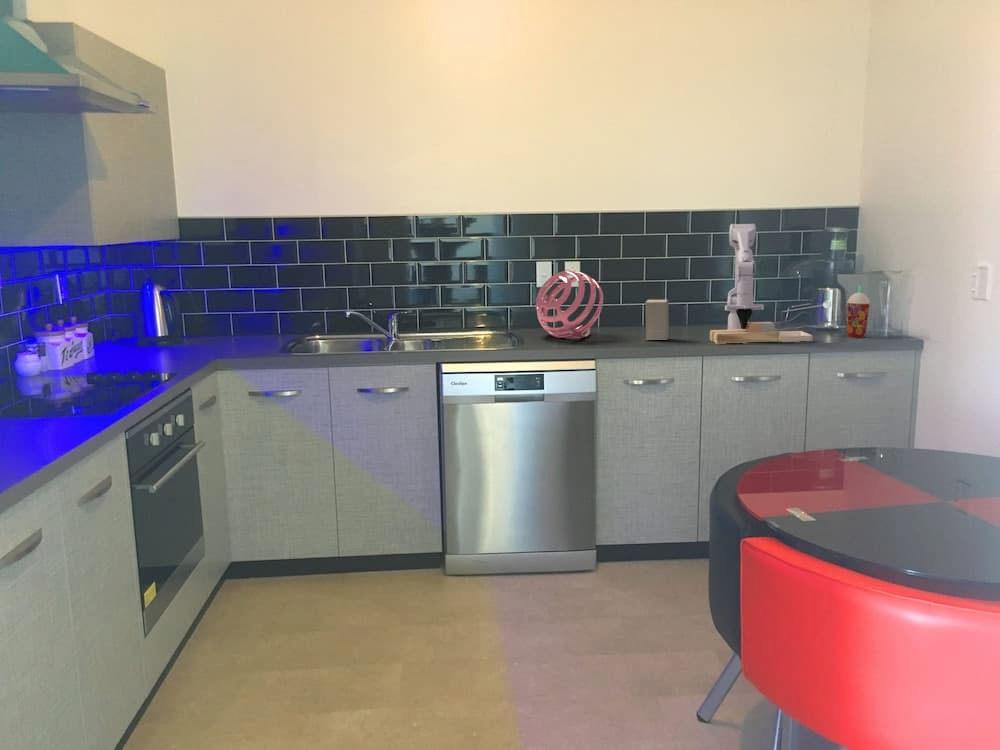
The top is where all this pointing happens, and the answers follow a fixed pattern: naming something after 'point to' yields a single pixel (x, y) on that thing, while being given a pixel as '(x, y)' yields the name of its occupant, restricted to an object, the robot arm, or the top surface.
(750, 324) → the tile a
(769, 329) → the tile
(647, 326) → the skincare box
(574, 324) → the spiral basket
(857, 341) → the top surface
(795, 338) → the tray
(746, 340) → the board
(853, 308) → the smoothie
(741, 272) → the robot arm
